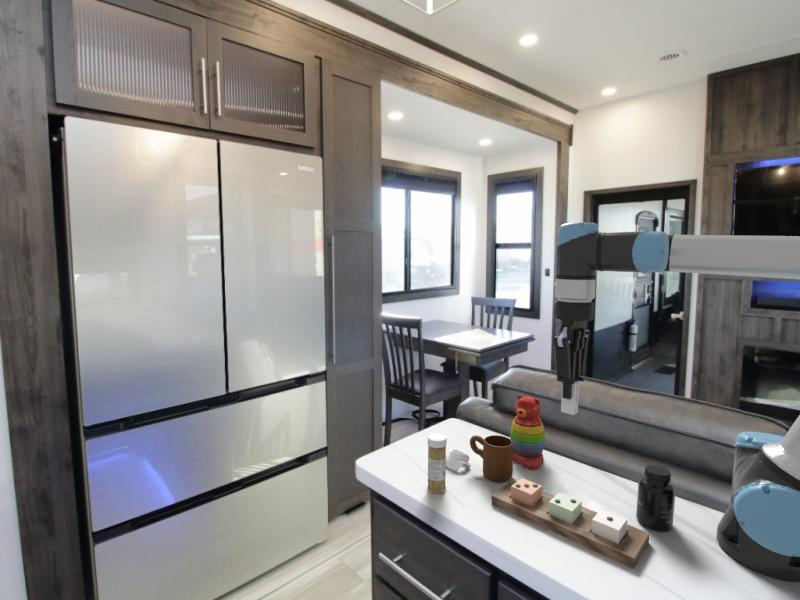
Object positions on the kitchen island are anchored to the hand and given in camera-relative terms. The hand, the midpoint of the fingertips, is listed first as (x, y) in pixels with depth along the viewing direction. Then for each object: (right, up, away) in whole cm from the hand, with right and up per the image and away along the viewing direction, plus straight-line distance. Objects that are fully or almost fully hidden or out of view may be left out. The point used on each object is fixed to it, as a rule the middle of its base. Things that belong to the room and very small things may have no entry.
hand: (569, 411), depth 91 cm
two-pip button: (0, -23, +2) cm, 23 cm away
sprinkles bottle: (-26, -23, +15) cm, 38 cm away
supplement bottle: (+19, -25, +2) cm, 31 cm away
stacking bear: (0, -21, +31) cm, 38 cm away
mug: (-12, -22, +23) cm, 34 cm away
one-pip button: (+7, -23, -4) cm, 25 cm away
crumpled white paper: (-20, -22, +28) cm, 41 cm away
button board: (0, -24, +3) cm, 24 cm away
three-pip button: (-6, -22, +9) cm, 25 cm away
